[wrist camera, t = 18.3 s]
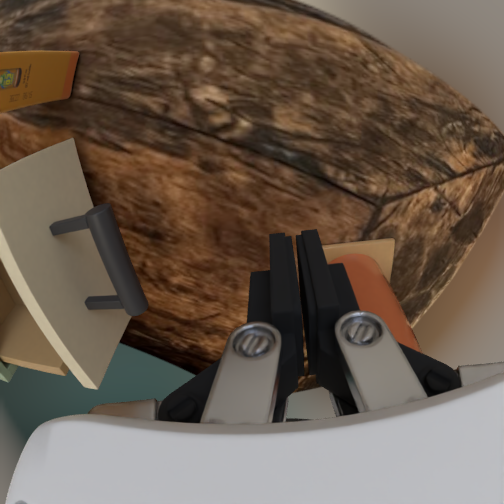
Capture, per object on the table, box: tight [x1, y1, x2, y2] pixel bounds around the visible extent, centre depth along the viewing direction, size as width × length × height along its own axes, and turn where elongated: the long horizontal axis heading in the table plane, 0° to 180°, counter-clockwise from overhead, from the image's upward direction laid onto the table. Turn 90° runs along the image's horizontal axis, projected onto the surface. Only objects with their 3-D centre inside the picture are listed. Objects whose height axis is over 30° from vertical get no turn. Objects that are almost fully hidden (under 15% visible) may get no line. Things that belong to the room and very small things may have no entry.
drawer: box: [0, 138, 148, 389], centre depth 15 cm, size 19×13×8 cm
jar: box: [328, 253, 423, 354], centre depth 15 cm, size 5×5×11 cm
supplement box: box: [0, 51, 79, 113], centre depth 9 cm, size 3×3×10 cm
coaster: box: [322, 238, 395, 284], centre depth 20 cm, size 6×6×1 cm
